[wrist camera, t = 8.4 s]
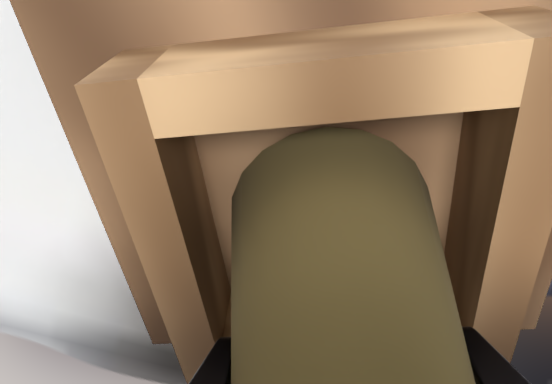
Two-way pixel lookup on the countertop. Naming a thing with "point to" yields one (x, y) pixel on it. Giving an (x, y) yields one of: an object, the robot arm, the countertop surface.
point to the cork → (340, 268)
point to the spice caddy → (298, 118)
